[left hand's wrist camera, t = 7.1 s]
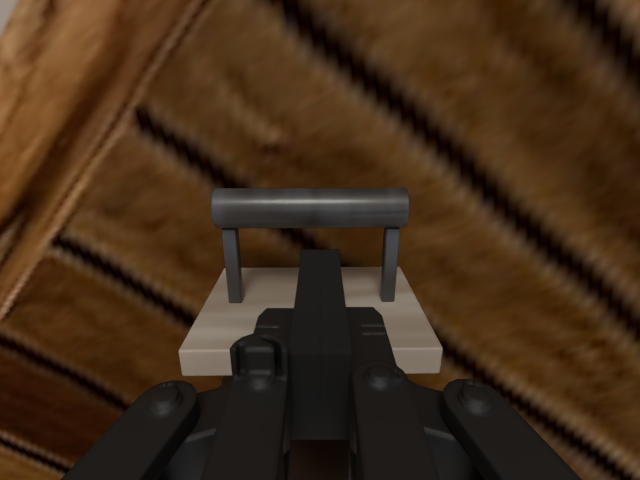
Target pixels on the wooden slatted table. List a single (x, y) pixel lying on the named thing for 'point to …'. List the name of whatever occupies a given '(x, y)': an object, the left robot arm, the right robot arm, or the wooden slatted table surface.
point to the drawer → (280, 287)
